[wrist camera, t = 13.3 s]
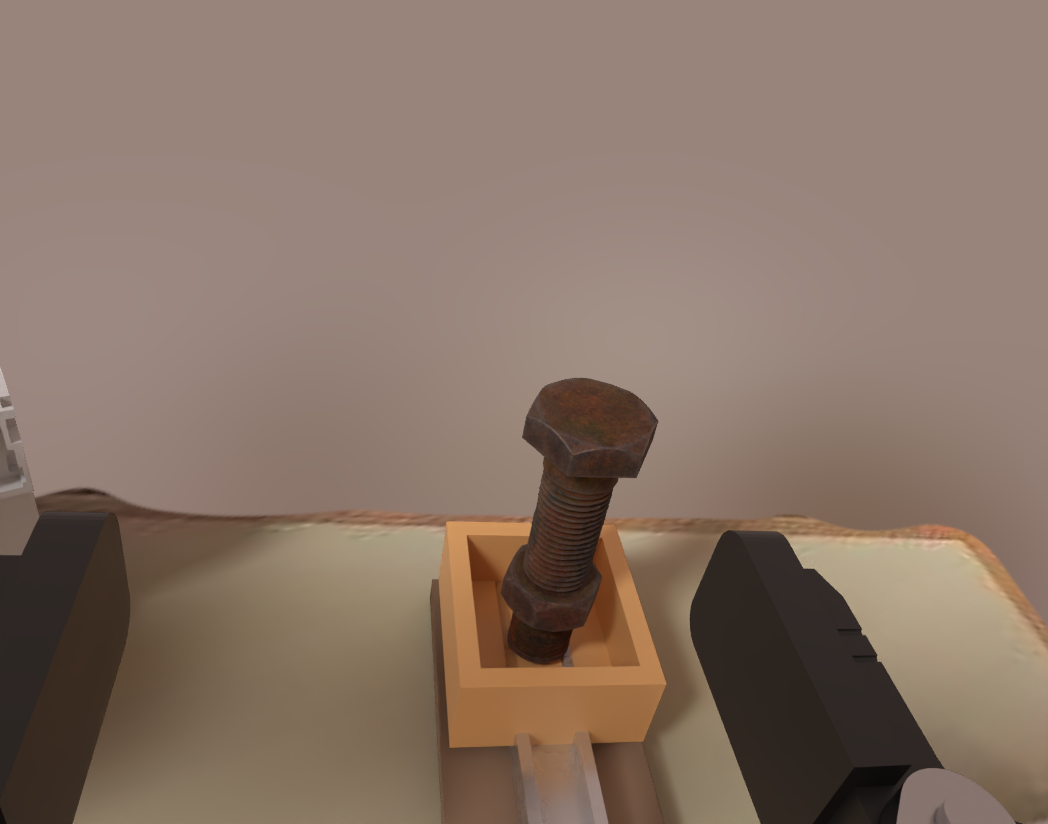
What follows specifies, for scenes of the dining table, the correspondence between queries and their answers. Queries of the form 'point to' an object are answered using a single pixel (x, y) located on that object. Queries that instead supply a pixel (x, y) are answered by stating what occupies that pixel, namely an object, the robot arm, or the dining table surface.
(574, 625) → the bolt
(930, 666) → the dining table surface
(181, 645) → the dining table surface
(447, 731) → the rail board
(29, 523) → the circuit breaker
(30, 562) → the robot arm
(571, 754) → the rail
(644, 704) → the orange open box
